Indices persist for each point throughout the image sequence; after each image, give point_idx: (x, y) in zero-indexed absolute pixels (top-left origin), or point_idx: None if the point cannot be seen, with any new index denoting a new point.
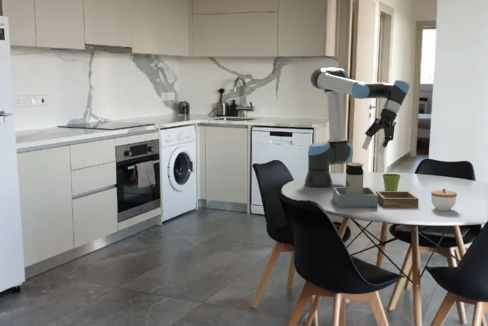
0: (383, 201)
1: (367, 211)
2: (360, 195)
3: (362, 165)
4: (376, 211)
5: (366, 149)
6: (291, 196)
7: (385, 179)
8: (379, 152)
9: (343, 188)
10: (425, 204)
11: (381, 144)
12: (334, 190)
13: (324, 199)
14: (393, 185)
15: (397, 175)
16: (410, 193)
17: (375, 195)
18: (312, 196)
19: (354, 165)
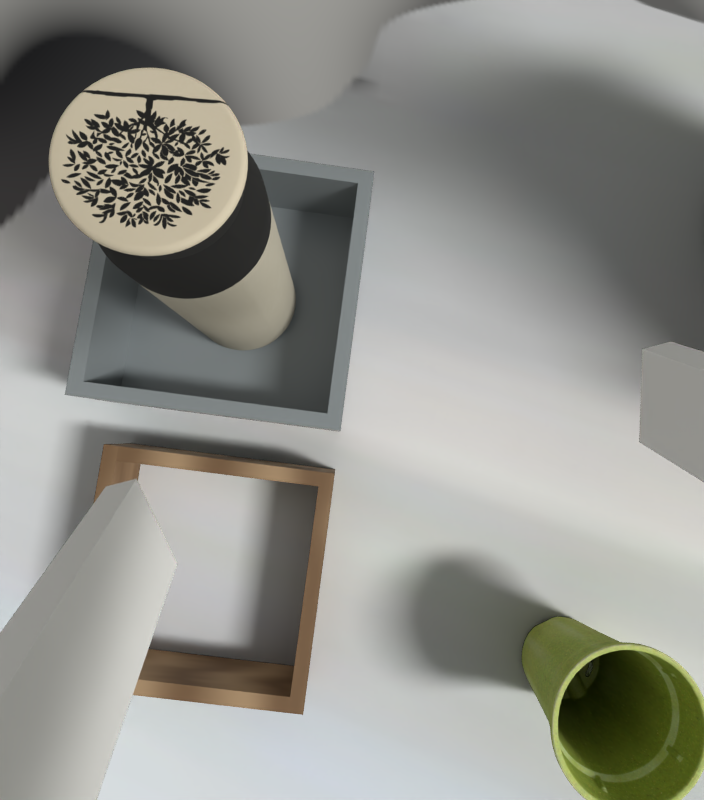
0: (114, 444)
1: (43, 318)
2: (87, 277)
3: (104, 241)
4: (34, 367)
5: (645, 438)
6: (467, 6)
7: (584, 647)
8: (148, 518)
9: (350, 241)
10: (155, 734)
11: (28, 608)
12: (295, 164)
13: (368, 167)
14: (536, 683)
15: (657, 793)
16: (229, 696)
17: (69, 377)
18: (455, 120)
19: (58, 125)
